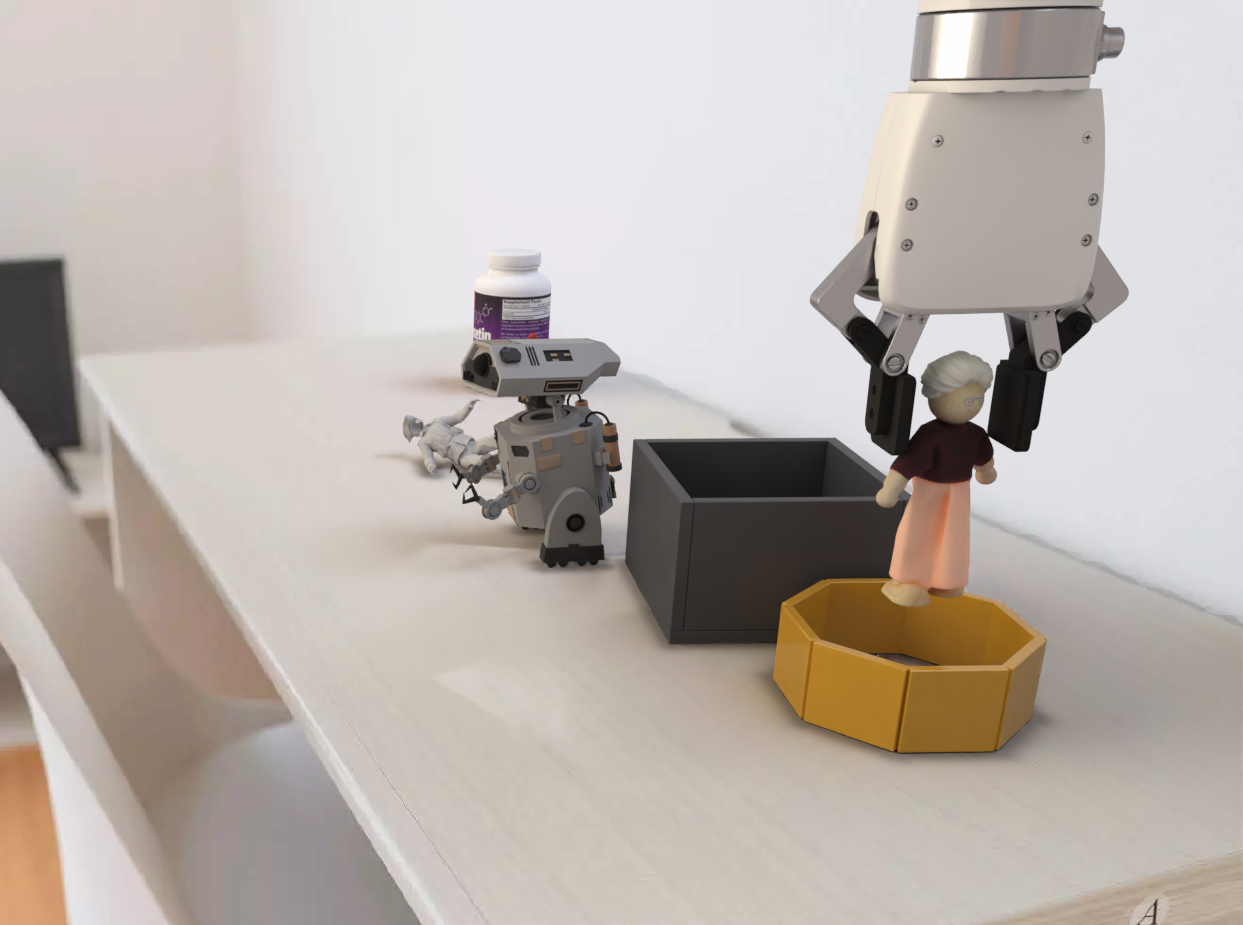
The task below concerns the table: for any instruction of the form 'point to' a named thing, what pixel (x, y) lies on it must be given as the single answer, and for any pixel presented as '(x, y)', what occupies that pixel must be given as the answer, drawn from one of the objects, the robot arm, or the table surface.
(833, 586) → the yellow octagonal ring
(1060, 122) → the robot arm
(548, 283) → the pill bottle
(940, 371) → the grandmother figurine
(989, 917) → the table surface
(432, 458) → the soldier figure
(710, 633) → the bin
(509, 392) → the figurine
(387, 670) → the table surface
